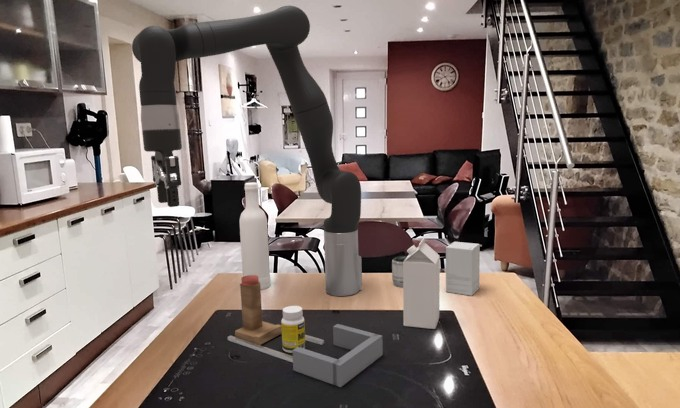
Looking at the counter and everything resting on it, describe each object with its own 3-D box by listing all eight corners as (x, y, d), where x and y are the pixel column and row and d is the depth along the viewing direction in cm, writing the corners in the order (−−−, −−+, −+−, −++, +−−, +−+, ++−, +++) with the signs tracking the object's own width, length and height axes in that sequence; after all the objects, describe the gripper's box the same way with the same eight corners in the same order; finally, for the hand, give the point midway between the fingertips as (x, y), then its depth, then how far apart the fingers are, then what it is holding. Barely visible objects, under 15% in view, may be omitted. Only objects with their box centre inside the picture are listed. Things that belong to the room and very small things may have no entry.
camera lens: (418, 283, 136) (418, 256, 135) (407, 289, 131) (407, 261, 130) (399, 279, 140) (399, 253, 139) (388, 285, 135) (387, 258, 134)
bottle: (261, 280, 143) (255, 180, 138) (276, 285, 137) (271, 182, 132) (237, 286, 137) (231, 183, 133) (252, 292, 132) (246, 185, 127)
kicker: (258, 326, 108) (255, 272, 106) (282, 333, 104) (279, 277, 102) (235, 337, 102) (231, 280, 100) (259, 345, 98) (255, 286, 96)
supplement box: (480, 288, 130) (481, 243, 128) (471, 296, 124) (472, 249, 122) (453, 284, 134) (454, 240, 132) (444, 292, 128) (445, 246, 126)
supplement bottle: (301, 354, 94) (300, 314, 93) (279, 352, 95) (277, 312, 94) (308, 343, 99) (306, 305, 98) (286, 342, 100) (284, 304, 98)
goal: (338, 341, 99) (337, 323, 99) (382, 354, 93) (382, 335, 92) (293, 370, 88) (292, 350, 87) (340, 387, 82) (340, 365, 81)
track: (260, 324, 109) (260, 321, 109) (324, 343, 99) (324, 340, 98) (227, 340, 101) (227, 336, 101) (293, 362, 91) (292, 358, 91)
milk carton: (439, 317, 111) (439, 238, 108) (435, 330, 104) (435, 245, 101) (409, 314, 113) (408, 236, 110) (403, 326, 106) (402, 243, 103)
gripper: (188, 126, 95) (195, 205, 98) (171, 128, 107) (177, 199, 110) (149, 127, 91) (157, 210, 94) (135, 129, 103) (143, 203, 106)
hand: (168, 204), depth 102 cm, fingers open, 8 cm apart
